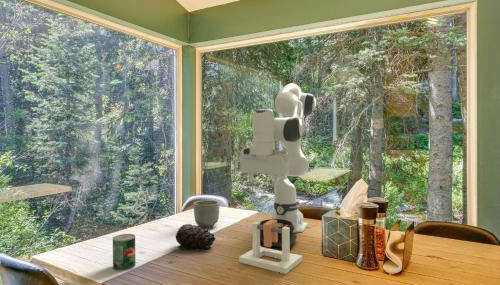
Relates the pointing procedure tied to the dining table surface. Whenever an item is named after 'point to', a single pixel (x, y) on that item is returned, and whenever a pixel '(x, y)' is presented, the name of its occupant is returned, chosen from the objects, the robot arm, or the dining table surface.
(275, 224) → the orange block
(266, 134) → the robot arm
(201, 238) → the pine cone
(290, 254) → the toilet paper holder
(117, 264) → the canned tomato
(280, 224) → the casserole
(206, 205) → the planter
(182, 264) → the dining table surface
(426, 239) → the dining table surface
